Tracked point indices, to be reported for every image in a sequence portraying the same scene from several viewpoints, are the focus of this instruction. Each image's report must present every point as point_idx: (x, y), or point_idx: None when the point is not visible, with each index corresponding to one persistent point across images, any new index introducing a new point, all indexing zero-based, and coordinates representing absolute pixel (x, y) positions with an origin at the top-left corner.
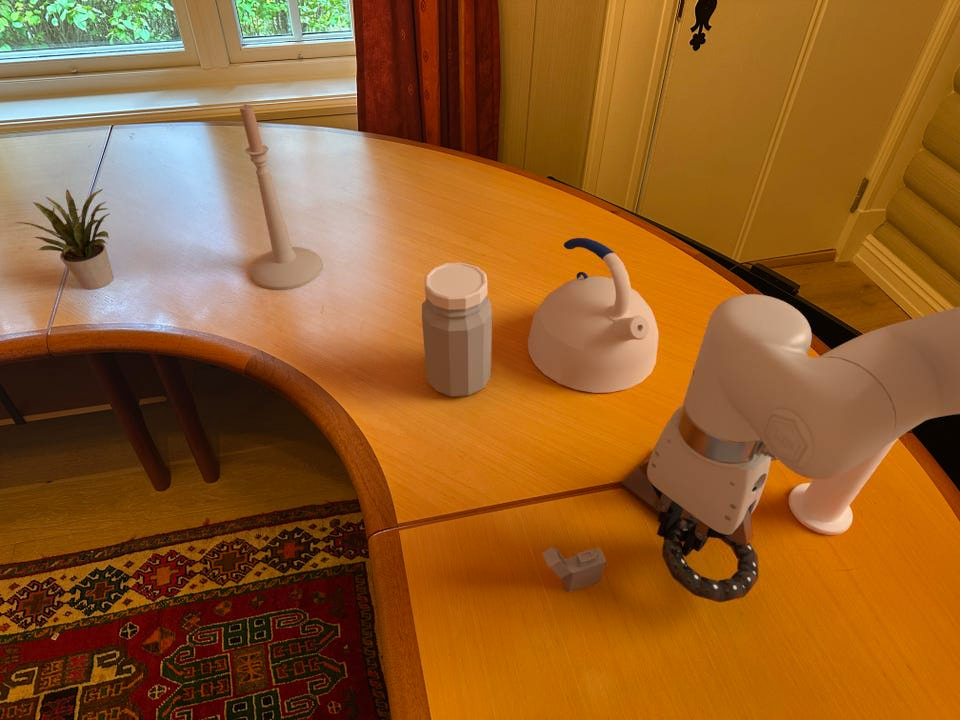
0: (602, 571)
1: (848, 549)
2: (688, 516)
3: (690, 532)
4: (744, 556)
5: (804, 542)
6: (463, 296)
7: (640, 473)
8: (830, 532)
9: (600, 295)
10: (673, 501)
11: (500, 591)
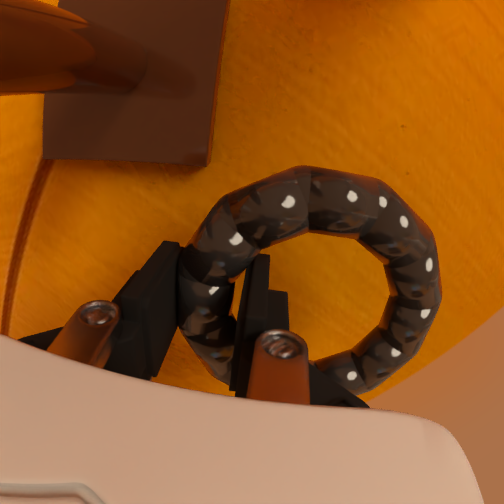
0: (152, 376)
1: (496, 4)
2: (201, 120)
3: (234, 390)
4: (404, 276)
5: (443, 18)
6: None
7: (55, 104)
8: None
9: None
10: (115, 372)
11: None
